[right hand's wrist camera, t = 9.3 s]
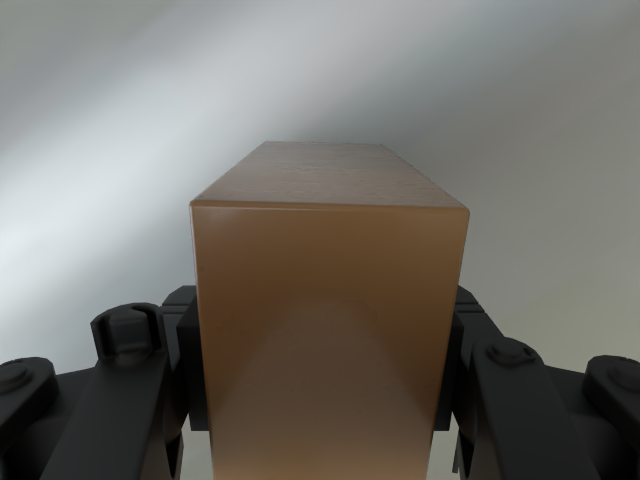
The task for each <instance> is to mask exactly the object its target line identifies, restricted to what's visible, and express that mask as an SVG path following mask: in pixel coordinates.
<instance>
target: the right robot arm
mask: <svg viewBox="0 0 640 480" xmlns="http://www.w3.org/2000/svg"><path fill="white" fill-rule="evenodd" d="M90 325H91V329H92V333H93V337H94V342H95V346H96V350H97V354H98V358H99V359H98V361H97V363H96V365H95V367H92V368H89V369H84V370H79V371H74V372H69V373H64V374H59V375H56V374H55V370H54V367H53V363H52V362H50V361H49V360H48V359H46V358H40V357H30V358H20V359H15V360H14V361H13V360H11V361H8V362H5V363H3V364H2V365H0V480H180V473H181V465H182V457H183V449H184V445H183V437H182V431H181V429H182V426H183V424H184V422H185V419H186V417H187V414H188V413H189V419H190V426H191V431H209V424H208V413H207V402H206V391H205V380H204V369H203V358H202V347H201V335H200V324H199V313H198V302H197V291H196V286H182V287H180V288H179V289H177V290H175V291H174V292H172V293H171V294H169V296H168V297H167V298H166V300H165V301H164V302H163V304H162V306H160V307H158V306H157V305H155V304H150V303H131V304H125V305H120V306H117V307H115V308H112V309H109V310H107V311H105V312H103V313H102V314H100V315H98V316H97V317H96V318H95V319H94V320H93V321H92V322H91V323H90ZM452 412H453V414H454V416H455V419H456V421H457V424H458V426H459V431H458V437H457V443H456V450H455V456H454V462H453V469H452V472H453V473H458V467H459V472H460V480H640V363H639V362H638V361H635V360H632V359H629V358H628V359H627V358H625V357H620V356H609V355H602V356H596V357H593V358H592V359H591V360H590V361H588V364H587V368H586V371H585V373H580V372H575V371H570V370H565V369H560V368H555V367H551V366H547V365H545V364H544V362H543V360H542V358H541V357H540V356H539V355H538V353H537V352H536V351H535V350H534V349H532V348H531V347H529V346H528V345H526V344H525V343H522V342H520V341H517V340H515V339H513V338H508V337H504V336H503V334H502V333H501V332H500V330H499V329H498V328H497V326H496V325H495V324H494V322H493V321H492V320H491V319H490V317H489V316H488V315H487V313H485V311H484V309H483V308H482V307H481V305H478V302H477V300H476V299H475V298H474V296H473V295H472V294H471V293H470V292H469V291H467V290H466V289H464V288H462V287H461V286H459V285H458V288H457V294H456V300H455V306H454V312H453V318H452V324H451V330H450V336H449V342H448V348H447V354H446V360H445V366H444V372H443V378H442V384H441V390H440V396H439V402H438V408H437V414H436V420H435V427H434V431H449V428H450V421H451V415H452Z"/></svg>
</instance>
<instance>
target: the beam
mask: <svg viewBox="0 0 640 480" xmlns="http://www.w3.org/2000/svg"><path fill="white" fill-rule="evenodd" d="M189 213H190V224H191V235H192V246H193V257H194V269H195V280H196V291H197V302H198V313H199V324H200V335H201V347H202V358H203V369H204V380H205V391H206V402H207V413H208V424H209V436H210V447H211V458H212V469H213V480H426V475H427V469H428V463H429V457H430V451H431V445H432V439H433V433H434V427H435V420H436V414H437V408H438V402H439V396H440V390H441V384H442V378H443V372H444V366H445V360H446V354H447V348H448V342H449V336H450V330H451V324H452V318H453V312H454V306H455V300H456V294H457V288H458V282H459V276H460V270H461V264H462V258H463V252H464V246H465V240H466V234H467V228H468V222H469V216H470V212H469V209H468V208H467V207H466V206H464V205H463V204H462V203H460V202H459V201H457V200H456V199H455V198H453V197H452V196H451V195H449V194H448V193H447V192H445V191H444V190H443V189H441V188H440V187H439V186H437V185H436V184H435V183H433V182H432V181H431V180H429V179H428V178H427V177H425V176H424V175H423V174H421V173H420V172H419V171H417V170H416V169H415V168H413V167H412V166H411V165H409V164H408V163H407V162H405V161H404V160H403V159H401V158H400V157H399V156H397V155H396V154H395V153H393V152H392V151H391V150H389V149H388V148H387V147H385V146H384V145H382V144H350V143H315V142H280V141H265V142H263V143H262V144H261V145H260V146H258V147H257V148H256V149H255V150H253V151H252V152H251V153H250V154H248V155H247V156H246V157H245V158H244V159H242V160H241V161H240V162H239V163H237V164H236V165H235V166H234V167H232V168H231V169H230V170H229V171H227V172H226V173H225V174H224V175H222V176H221V177H220V178H219V179H218V180H216V181H215V182H214V183H213V184H211V185H210V186H209V187H208V188H206V189H205V190H204V191H203V192H201V193H200V194H199V195H198V196H196V197H195V198H194V199H193V200H192V201H190V204H189Z"/></svg>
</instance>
